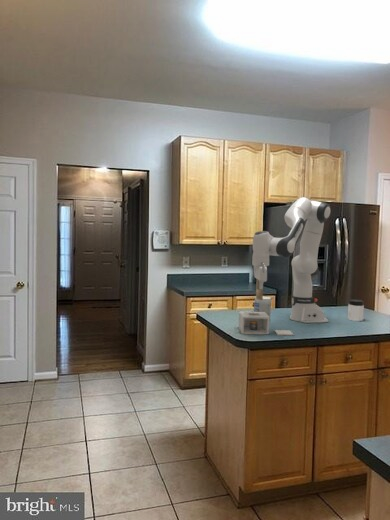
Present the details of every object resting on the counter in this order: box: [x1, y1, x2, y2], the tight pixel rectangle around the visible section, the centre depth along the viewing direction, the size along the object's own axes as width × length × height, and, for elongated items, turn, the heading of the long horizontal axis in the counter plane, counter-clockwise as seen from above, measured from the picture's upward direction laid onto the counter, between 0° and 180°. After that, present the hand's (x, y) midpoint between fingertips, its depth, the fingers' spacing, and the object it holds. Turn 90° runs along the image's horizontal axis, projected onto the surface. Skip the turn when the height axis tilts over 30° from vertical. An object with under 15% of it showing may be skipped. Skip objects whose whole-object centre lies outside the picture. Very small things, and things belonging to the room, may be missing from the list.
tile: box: [274, 329, 294, 337], centre depth 212 cm, size 8×8×1 cm
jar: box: [347, 299, 365, 322], centre depth 251 cm, size 9×8×12 cm
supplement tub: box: [253, 295, 272, 324], centre depth 237 cm, size 10×10×15 cm
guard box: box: [238, 310, 271, 335], centre depth 217 cm, size 14×14×9 cm
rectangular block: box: [255, 279, 264, 300], centre depth 215 cm, size 3×3×12 cm
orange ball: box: [250, 321, 257, 330], centre depth 217 cm, size 4×4×4 cm
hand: (260, 288), depth 215 cm, fingers closed on rectangular block, 3 cm apart
